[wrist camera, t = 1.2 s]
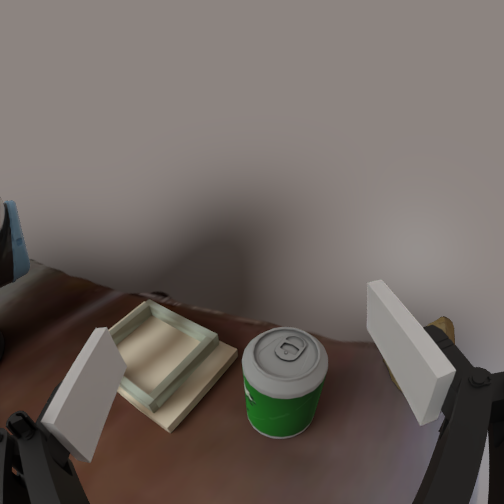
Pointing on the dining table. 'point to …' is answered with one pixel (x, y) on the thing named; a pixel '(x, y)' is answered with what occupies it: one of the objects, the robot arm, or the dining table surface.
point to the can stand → (167, 362)
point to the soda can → (283, 380)
